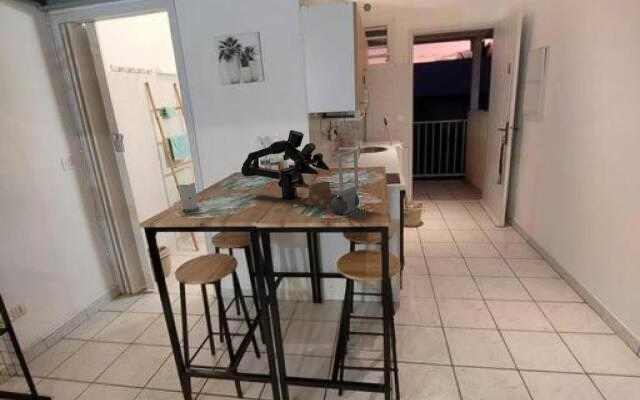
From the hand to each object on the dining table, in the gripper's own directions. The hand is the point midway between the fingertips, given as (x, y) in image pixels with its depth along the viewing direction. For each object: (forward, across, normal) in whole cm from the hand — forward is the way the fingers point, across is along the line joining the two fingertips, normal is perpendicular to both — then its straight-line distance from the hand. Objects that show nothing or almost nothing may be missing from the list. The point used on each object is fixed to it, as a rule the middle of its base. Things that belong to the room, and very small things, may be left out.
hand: (323, 171), depth 154 cm
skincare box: (-45, -32, +36) cm, 66 cm away
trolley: (+20, -9, +6) cm, 23 cm away
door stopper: (-25, +23, +28) cm, 44 cm away
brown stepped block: (+6, -3, +13) cm, 15 cm away
